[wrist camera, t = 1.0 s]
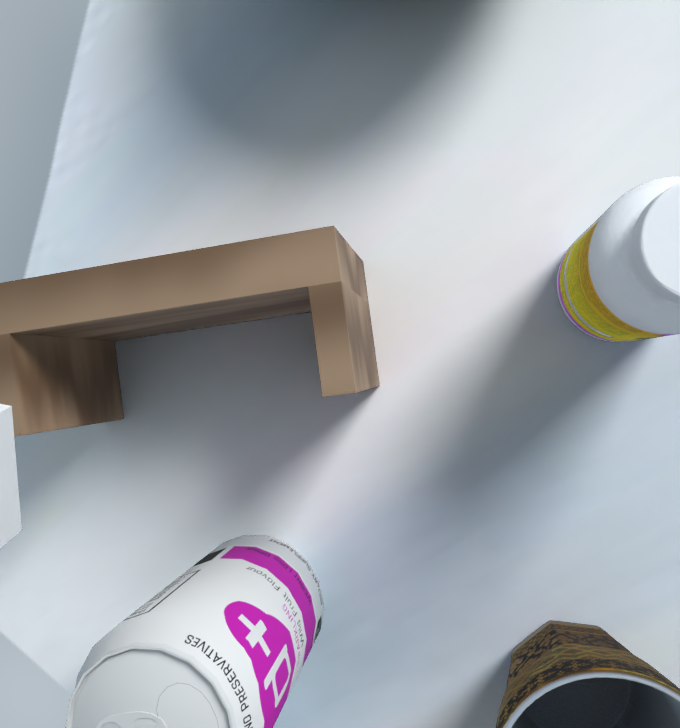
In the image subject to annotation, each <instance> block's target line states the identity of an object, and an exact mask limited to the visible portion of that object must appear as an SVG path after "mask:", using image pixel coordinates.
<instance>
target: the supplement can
mask: <svg viewBox="0 0 680 728" xmlns="http://www.w3.org/2000/svg"><path fill="white" fill-rule="evenodd" d="M323 610H324V602H323V597H322V592H321V587H320V582H319V580H318V578H317V576H316V575H315V573H314V571H313V569H312V568H311V566H310V564H309V563H308V561H307V560H306V559H305V558H304V557H303V556H302V555H300V554H299V553H298V552H297V551H296V550H295V549H294V548H292V547H291V546H290V545H289V544H287V543H284V542H282V541H279V540H276V539H274V538H271V537H269V536H256V535H243V536H241V537H238V538H235V539H232V540H229V541H227V542H224V543H222V544H221V545H220V546H218V547H217V548H216V549H214V550H213V551H212V552H211V553H209V554H208V555H207V556H206V557H204V558H203V559H202V560H200V561H199V562H198V563H197V564H195V565H194V566H193V567H191V568H190V569H189V570H188V571H186V572H185V573H184V574H182V575H181V576H180V577H179V578H177V579H176V580H175V581H174V582H172V583H171V584H170V585H168V586H167V587H166V588H165V589H163V590H162V591H161V592H159V593H158V594H157V595H156V596H154V597H153V598H152V599H150V600H149V601H148V602H147V603H145V604H144V605H143V606H142V607H140V608H139V609H138V610H136V611H135V612H134V613H133V614H131V615H130V616H129V617H127V618H126V619H125V620H124V621H122V622H121V623H120V624H118V625H117V626H116V627H115V628H114V629H113V630H111V631H110V632H109V633H108V634H107V635H106V636H105V637H103V638H102V639H101V640H100V641H99V642H98V643H96V644H95V645H94V646H93V647H92V649H91V651H90V653H89V655H88V657H87V659H86V661H85V662H84V664H83V666H82V668H81V670H80V672H79V674H78V676H77V682H76V687H75V691H74V693H73V694H72V696H71V698H70V700H69V707H68V714H67V720H66V727H65V728H273V726H274V724H275V722H276V720H277V718H278V716H279V714H280V712H281V710H282V708H283V705H284V703H285V701H286V699H287V697H288V695H289V693H290V691H291V689H292V687H293V685H294V683H295V681H296V679H297V677H298V675H299V673H300V671H301V669H302V667H303V665H304V662H305V660H306V658H307V656H308V654H309V652H310V650H311V648H312V646H313V644H314V642H315V640H316V638H317V636H318V634H319V632H320V630H321V623H322V617H323Z"/></svg>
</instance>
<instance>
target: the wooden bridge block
mask: <svg viewBox="0 0 680 728" xmlns="http://www.w3.org/2000/svg"><path fill="white" fill-rule="evenodd" d="M305 312H312V320H313V328H314V335H315V343H316V351H317V358H318V366H319V374H320V381H321V389H322V397H327V396H335V395H343V394H350V393H357V392H360V391H364V390H367V389H371V388H375V387H378V386H379V378H378V371H377V363H376V356H375V348H374V341H373V333H372V326H371V318H370V311H369V303H368V296H367V288H366V280H365V273H364V265H363V261H362V260H361V259H360V257H359V256H358V255H357V254H356V253H355V251H354V250H353V249H352V248H351V246H350V245H349V244H348V243H347V242H346V240H345V239H344V238H343V237H342V235H341V234H340V233H339V232H338V231H337V229H336V228H335V227H334V226H330V227H324V228H318V229H312V230H306V231H300V232H295V233H289V234H283V235H277V236H271V237H266V238H260V239H254V240H248V241H242V242H236V243H231V244H225V245H219V246H213V247H207V248H202V249H196V250H190V251H184V252H178V253H172V254H167V255H161V256H155V257H149V258H143V259H138V260H132V261H126V262H120V263H114V264H108V265H103V266H97V267H91V268H85V269H79V270H74V271H68V272H62V273H56V274H50V275H44V276H39V277H33V278H27V279H21V280H16V281H10V282H4V283H0V404H4V405H9V406H12V415H13V428H14V436H21V435H28V434H34V433H40V432H46V431H52V430H59V429H65V428H71V427H77V426H83V425H89V424H96V423H102V422H108V421H114V420H120V419H124V417H123V409H122V400H121V392H120V384H119V376H118V368H117V360H116V351H115V343H114V341H119V340H126V339H133V338H139V337H146V336H152V335H159V334H166V333H172V332H179V331H186V330H192V329H199V328H206V327H212V326H219V325H226V324H232V323H239V322H246V321H252V320H259V319H265V318H272V317H279V316H285V315H292V314H299V313H305Z"/></svg>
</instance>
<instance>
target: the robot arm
mask: <svg viewBox="0 0 680 728" xmlns="http://www.w3.org/2000/svg"><path fill="white" fill-rule="evenodd" d="M21 530H22V525H21V513H20V501H19V488H18V476H17V464H16V452H15V440H14V428H13V415H12V406H9V405H4V404H0V548H1V547H3V546H4V545H5V544H6V543H7V542H8V541H10V540H11V539H12V538H13V537H14V536H16V535H17V534H18V533H19V532H20V531H21Z"/></svg>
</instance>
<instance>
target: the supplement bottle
mask: <svg viewBox="0 0 680 728" xmlns="http://www.w3.org/2000/svg"><path fill="white" fill-rule="evenodd" d="M557 293H558V298H559V301H560V304H561V306H562V308H563V310H564V312H565V314H566V315H567V317H568V318H569V319H570V321H571V322H572V323H573V324H574V325H575V326H576V327H578V328H579V329H580V330H582V331H583V332H585V333H586V334H588V335H590V336H592V337H595V338H597V339H600V340H604V341H610V342H630V341H637V340H643V339H649V338H656V337H662V336H668V335H675V334H680V177H666V178H660V179H655V180H652V181H648V182H646V183H644V184H641V185H639V186H637V187H635V188H633V189H631V190H630V191H628V192H627V193H625V194H624V195H622V196H621V197H620V198H619V199H618V200H616V201H615V202H614V203H613V204H612V205H611V206H610V207H609V208H608V209H607V210H606V211H605V212H604V213H603V214H602V215H601V216H600V217H599V218H598V219H597V220H596V221H595V222H594V223H593V224H592V225H591V226H590V227H589V228H588V229H587V230H586V231H585V232H584V233H583V234H582V235H580V236H579V237H578V238H577V239H576V240H575V241H574V243H573V244H572V245H571V246H570V247H569V249H568V250H567V251H566V253H565V255H564V257H563V259H562V261H561V263H560V266H559V270H558V274H557Z"/></svg>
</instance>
